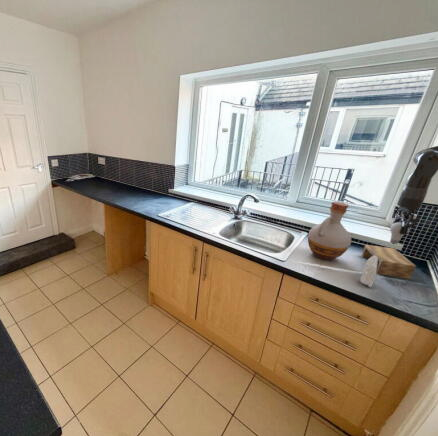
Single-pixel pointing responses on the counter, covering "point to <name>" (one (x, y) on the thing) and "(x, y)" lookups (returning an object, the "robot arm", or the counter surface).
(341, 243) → the jug
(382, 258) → the wooden wedge block
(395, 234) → the lightbulb
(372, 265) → the pale stone slab
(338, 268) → the counter surface
